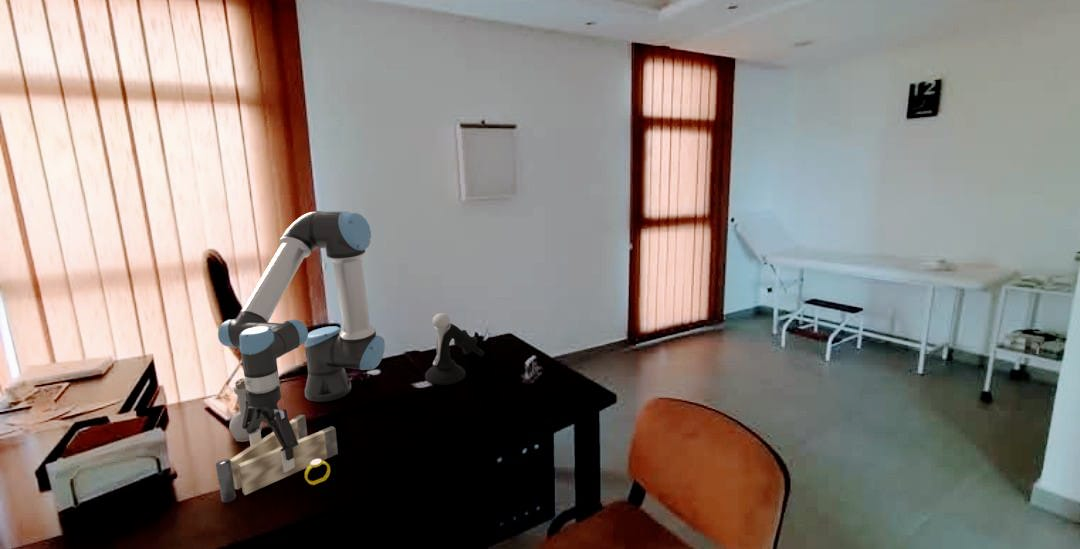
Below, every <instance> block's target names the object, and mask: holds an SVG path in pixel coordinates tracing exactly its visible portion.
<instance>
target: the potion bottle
mask: <svg viewBox="0 0 1080 549" xmlns="http://www.w3.org/2000/svg"><path fill="white" fill-rule="evenodd" d="M244 382H245V377H242V378H239V379H237V380H235V383H234V385H235V386H234V387H233V388H232V389H233V391H234V394H235V395H237V401H238V407H239V412H236V413H235V414H234V415H233V416H232V417H231V420H230V421H229V427H228V428H229V431H230V433H231V436H232V437H233V439H235V442H241V443H244V442H250V439H249V433H247V431H246V430H247V429H243V428H242V424H243V419H244V415H245V410H246V401H247V391H248V390H246V385H245V384H244ZM263 423H264V422H263V421H262V422H261V424H260V428H259V429H257V430H260V432H262V429H263ZM257 430H256V431H257Z"/></svg>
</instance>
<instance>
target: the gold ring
mask: <svg viewBox="0 0 1080 549" xmlns="http://www.w3.org/2000/svg"><path fill="white" fill-rule="evenodd" d="M321 465H325V466H326V469H327V470H326V473H325V474H324V475H323V477H320V478H318V479H315V480H310V479H309V478H308V475H309V474H310V473H309V472H310V471H311V470H312V469H313V468H317V467H320V466H321ZM330 473H331V466H330V464H329V463H328V462H326V461H325V460H323V461H322V460H321V459H314V460H312V461H311V462H310V465H309V466H308V467H307V468H305V471H304V479H305V481H306V482H307V483H308V484H309V485H311V486H315V485H318V484H319V483H323V482H325V481H326V480H327V479H329V476H330Z"/></svg>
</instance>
